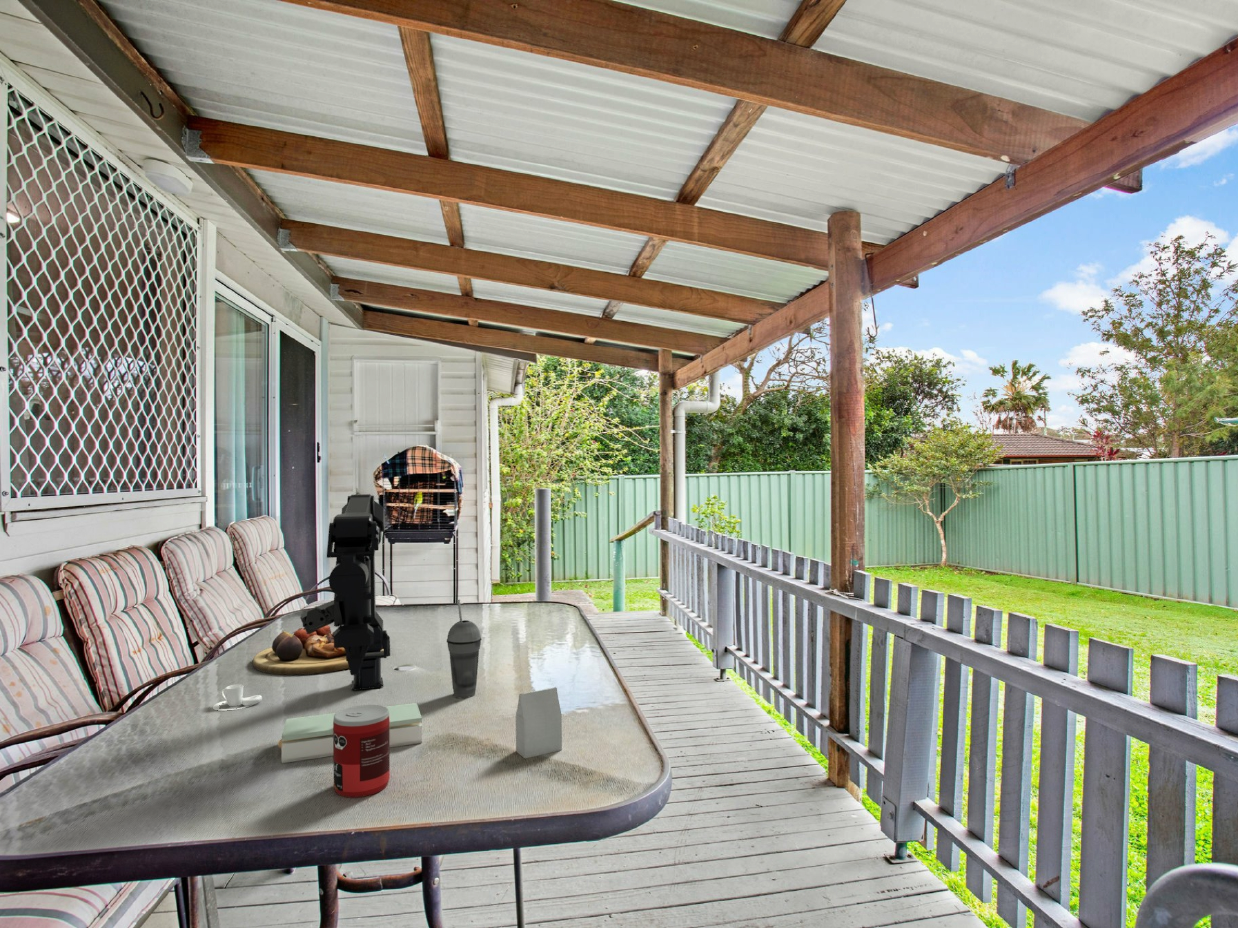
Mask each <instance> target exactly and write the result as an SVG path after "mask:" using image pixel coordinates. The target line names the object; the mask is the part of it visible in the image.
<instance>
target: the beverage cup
mask: <svg viewBox="0 0 1238 928" xmlns="http://www.w3.org/2000/svg"><path fill="white" fill-rule="evenodd" d="M461 607H462V606H461V600H460V599H457V609H458V616H459V621H456V622H455V623H454V624H453V625H451V627H450V628H449V631H448V634H447V638H446V643H447V649H448V654H449V662H450V664H449V665H450V673H451V684H452V690H453V691H452V692H453V697H454V698H457V699H465V698H472V697H474V696H475V695H476V692H477V691H476V690H477V689H476V688H477V682H478V670H479V669H478V667H479V656H480V653H479V652H480V649H481V645H482V643H481V641H482V640H483V639H482V635H481V632H480V629H479V627H478V626H477V624H475V623H474V622H473V621H470V620H467V619H466V620H465V619H464V620H463V616H462V609H461Z"/></svg>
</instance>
